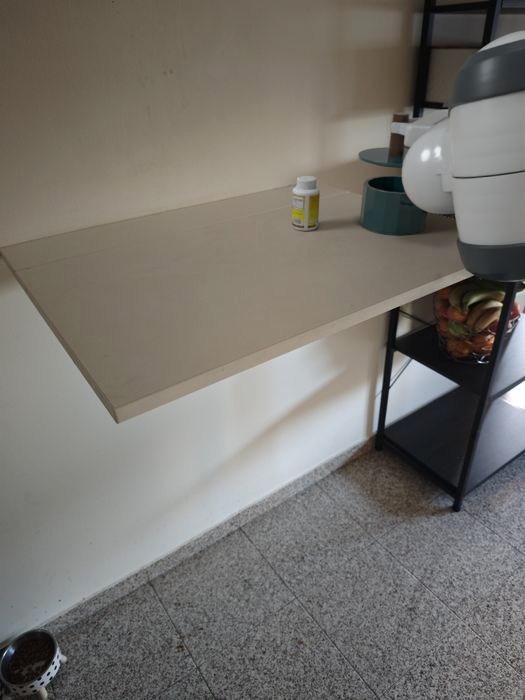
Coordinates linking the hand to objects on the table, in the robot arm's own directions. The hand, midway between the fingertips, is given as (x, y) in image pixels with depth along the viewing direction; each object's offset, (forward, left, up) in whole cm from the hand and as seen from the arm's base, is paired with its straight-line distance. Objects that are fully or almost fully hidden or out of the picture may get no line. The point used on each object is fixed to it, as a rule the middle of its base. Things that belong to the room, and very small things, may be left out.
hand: (395, 125), depth 95 cm
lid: (-1, 0, -6) cm, 6 cm away
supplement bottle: (+16, +6, -20) cm, 26 cm away
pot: (-2, -2, -20) cm, 20 cm away
